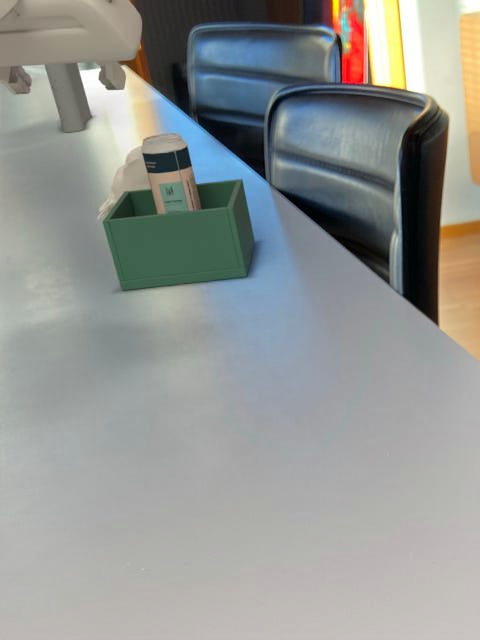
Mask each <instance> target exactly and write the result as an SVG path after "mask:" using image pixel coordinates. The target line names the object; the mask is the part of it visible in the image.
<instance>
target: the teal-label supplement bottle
mask: <svg viewBox="0 0 480 640" xmlns="http://www.w3.org/2000/svg"><path fill="white" fill-rule="evenodd" d="M141 146H142V149H141V152H142V154H143V158H144V162H145V166H146V170H147V174H148V178H149V182H150V186H151V190H152V194H153V198H154V202H155V206H156V210H157V214H165V213H174V212H184V211H193V210H202V208H201V203H200V199H199V194H198V190H197V186H196V184H197V181H196V178H195V173H194V169H193V164H192V160H191V155H190V151H189V147H188V146H189V144H188V143H187V142H186V141H185V139H184V138H183V136H182V135H181V134H180V133H172V132H171V133H161V134H156V135H150V136H147V137H145V138H143V139H142V144H141Z"/></svg>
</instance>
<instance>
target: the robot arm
mask: <svg viewBox="0 0 480 640" xmlns="http://www.w3.org/2000/svg"><path fill="white" fill-rule="evenodd" d="M142 33H143V20H142V16H141V14H140V12H139V11H138V10H137V8H136V7H135V6H134V4H133V3H132V2H131V1H130V0H0V84H1V85H3V86H4V87H5V88H6V89H7V90H8V91H9V92H10V93H11V94H12V95H14V96H17V95H30V93H31V86H32V83H33V81H32V77H31V75H30V74H29V73H28V72H26V70H25V69H24V67H27V66H43V65H44V66H45V65H48V64H68V63H77V64H83V63H84V64H85V63H87V64H88V63H95V64H96V65H97V66H98V67H99V69H100V71H99V72H98V77H97V78H98V81H99V82H100V84H102V85H103V86H104V88H105V89H106V91H123V90H125V88H126V81H127V73H126V71H125V70H124V68H123V67H122V66H121V65H120V63H119V62H122V61H123V62H125V61H132V60H134V59H135V58H136V56H137V54H138V51H139V49H140V45H141V41H142Z"/></svg>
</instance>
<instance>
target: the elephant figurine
mask: <svg viewBox="0 0 480 640" xmlns="http://www.w3.org/2000/svg"><path fill="white" fill-rule="evenodd" d="M141 149H142V145H139V146H137V147H135V148H133V149H131V150H130V151H129V152H128V153H127V155H126V157H125V160H124V161H125V162H124V165H121V166H120V167H119V168H118V169H117V170H116V171H115V174H114V177H113V180H112V185H111V191H110V195H108V197H107V199H106V200H105V201H104V203H103V204H102V205H101V206H100V207H99V209H98V212H100V213H99V214H98V216H97V218H96V221H97V220H99V219H101V218H103V217H105V216H106V214H108V213H109V212H110V211H111V209H112V208H113V207H114V205H115V204H116V202H117V201H118V200H119V198H120V197H121V196H122V194H123V193H124V192H125V191H134V190H144V189H151V186H150V182H149V178H148V174H147V170H146V166H145V162H144V158H143V154H142V152H141Z"/></svg>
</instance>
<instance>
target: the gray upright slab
mask: <svg viewBox="0 0 480 640" xmlns="http://www.w3.org/2000/svg"><path fill="white" fill-rule="evenodd" d="M44 69H45V72H46V77H47V79H48V83H49V86H50V89H51V92H52V96H53V99H54V104H55V106H56V109H57V113H58V116H59V119H60V124H61V127H62V130H63V132H64V133H75V132H81V131H84V130H85V124H86V123H87V122H88V121H89V120H90V119H91V118H92V117H93V116H92V112H91V109H90V105H89V102H88V97H87V94H86V91H85V87H84V84H83V83H84V82H83V80H82V76H81V72H80V68H79V65H78V63H68V64H48V65H44Z"/></svg>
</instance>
